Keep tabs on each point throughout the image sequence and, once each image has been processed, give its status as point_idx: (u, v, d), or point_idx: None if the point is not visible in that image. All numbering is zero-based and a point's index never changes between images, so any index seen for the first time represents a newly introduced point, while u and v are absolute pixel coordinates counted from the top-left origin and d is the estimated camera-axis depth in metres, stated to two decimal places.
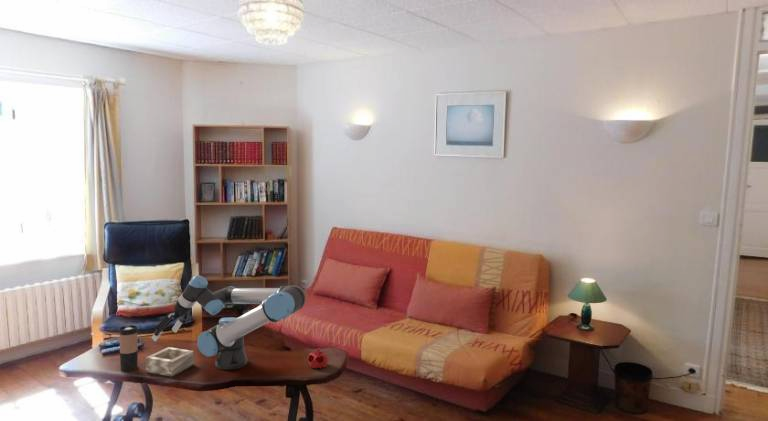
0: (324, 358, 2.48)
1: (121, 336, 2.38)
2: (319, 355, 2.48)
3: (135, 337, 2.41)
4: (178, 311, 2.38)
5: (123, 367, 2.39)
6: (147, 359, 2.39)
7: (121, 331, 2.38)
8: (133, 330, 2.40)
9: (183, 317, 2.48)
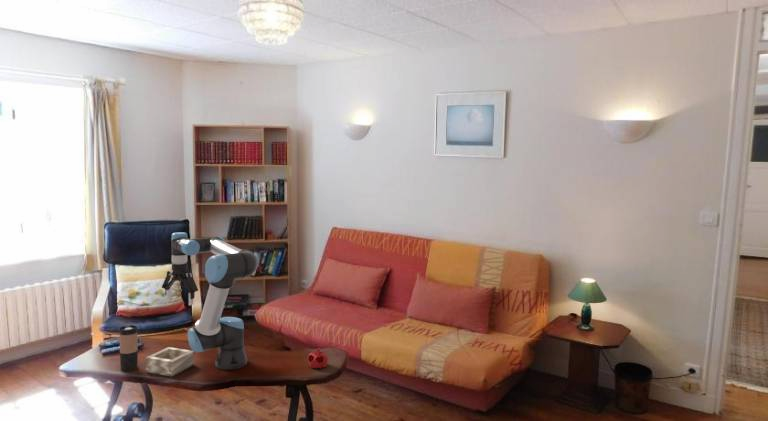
0: (324, 358, 2.48)
1: (121, 336, 2.38)
2: (319, 355, 2.48)
3: (135, 337, 2.41)
4: None
5: (123, 367, 2.39)
6: (147, 359, 2.39)
7: (121, 331, 2.38)
8: (133, 330, 2.40)
9: (185, 283, 2.57)
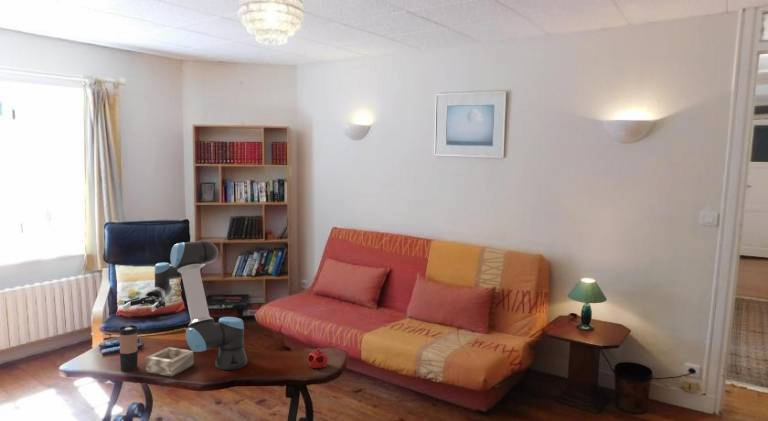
0: (324, 358, 2.48)
1: (121, 336, 2.38)
2: (319, 355, 2.48)
3: (135, 337, 2.41)
4: None
5: (123, 367, 2.39)
6: (147, 359, 2.39)
7: (121, 331, 2.38)
8: (133, 330, 2.40)
9: (156, 299, 2.61)
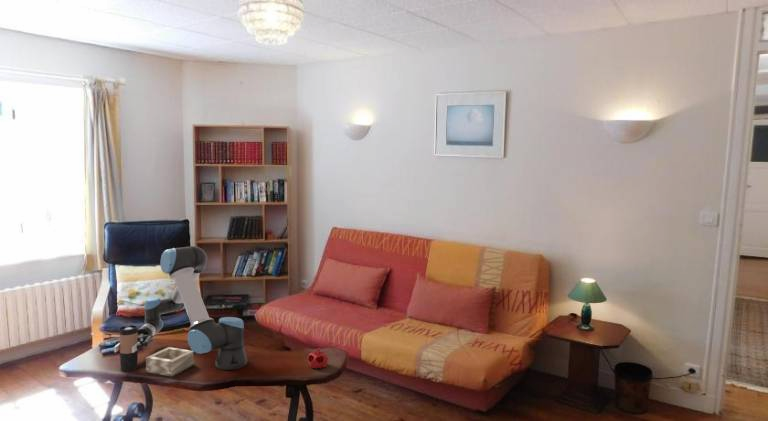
0: (324, 358, 2.48)
1: (121, 336, 2.38)
2: (319, 355, 2.48)
3: (135, 337, 2.41)
4: None
5: (123, 367, 2.39)
6: (147, 359, 2.39)
7: (121, 331, 2.38)
8: (133, 330, 2.40)
9: (142, 338, 2.49)
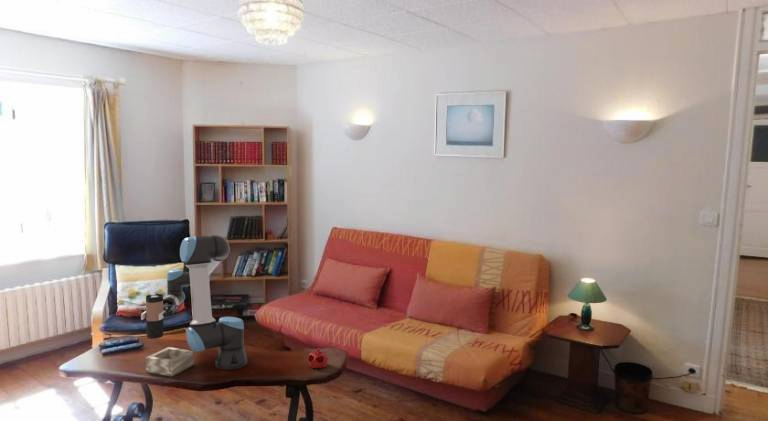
0: (324, 358, 2.48)
1: (148, 304, 2.39)
2: (319, 355, 2.48)
3: (161, 305, 2.42)
4: None
5: (150, 335, 2.40)
6: (147, 359, 2.39)
7: (148, 299, 2.39)
8: (159, 298, 2.40)
9: (167, 307, 2.50)
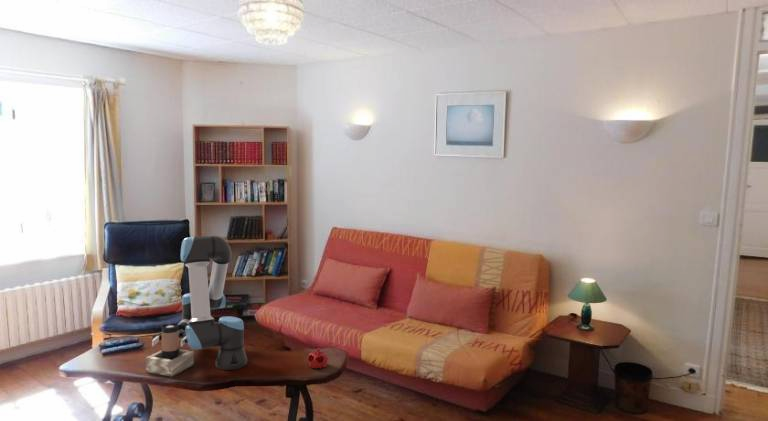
0: (324, 358, 2.48)
1: (163, 334, 2.40)
2: (319, 355, 2.48)
3: (177, 335, 2.42)
4: None
5: None
6: (147, 359, 2.39)
7: (163, 329, 2.39)
8: (175, 328, 2.41)
9: (185, 333, 2.51)
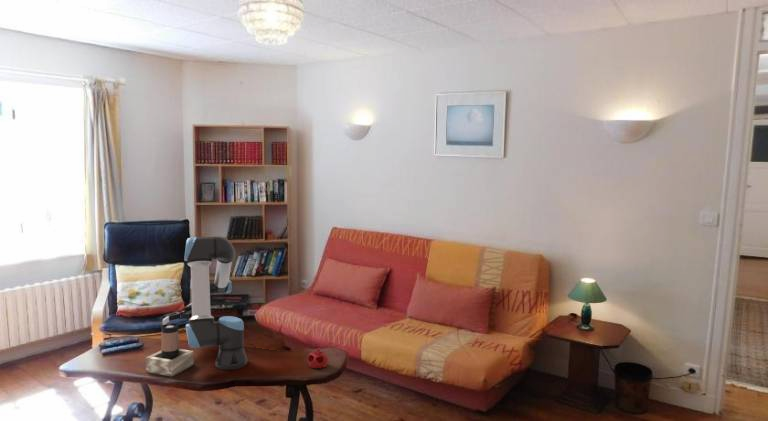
0: (324, 358, 2.48)
1: (163, 334, 2.40)
2: (319, 355, 2.48)
3: (177, 335, 2.42)
4: None
5: None
6: (147, 359, 2.39)
7: (163, 329, 2.39)
8: (175, 328, 2.41)
9: None
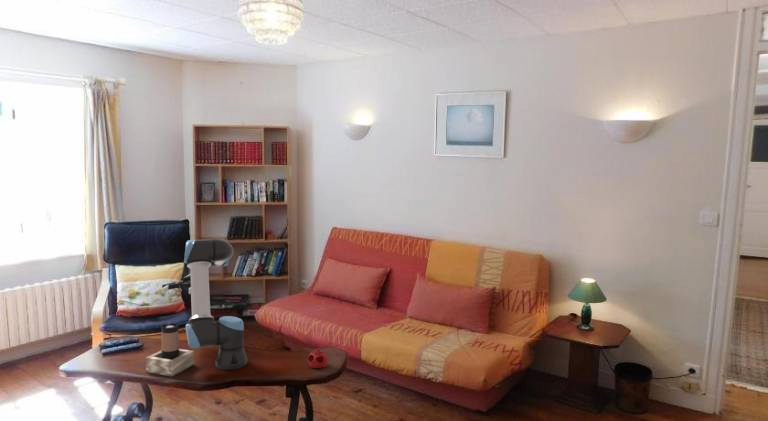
0: (324, 358, 2.48)
1: (163, 334, 2.40)
2: (319, 355, 2.48)
3: (177, 335, 2.42)
4: None
5: None
6: (147, 359, 2.39)
7: (163, 329, 2.39)
8: (175, 328, 2.41)
9: None
